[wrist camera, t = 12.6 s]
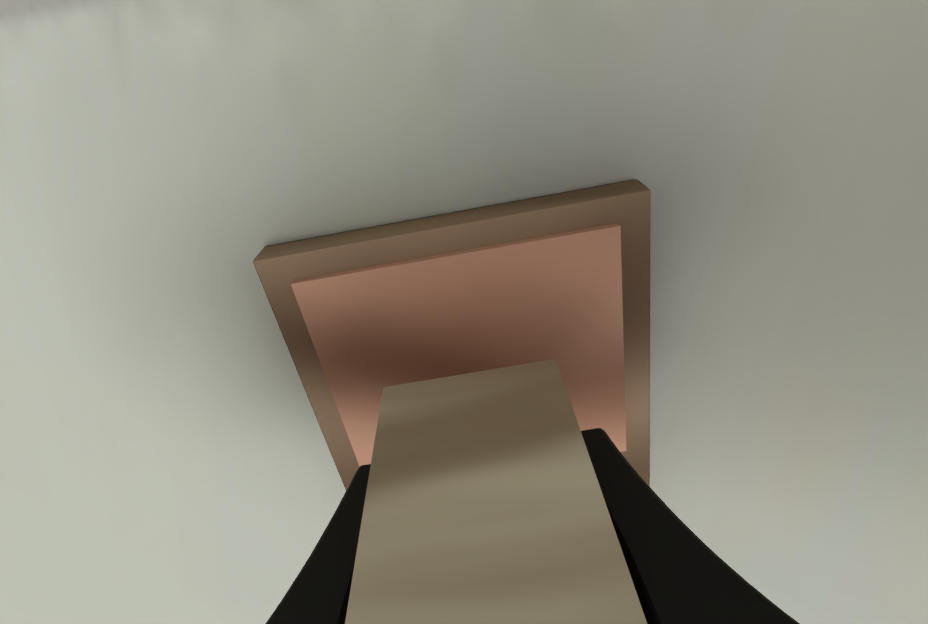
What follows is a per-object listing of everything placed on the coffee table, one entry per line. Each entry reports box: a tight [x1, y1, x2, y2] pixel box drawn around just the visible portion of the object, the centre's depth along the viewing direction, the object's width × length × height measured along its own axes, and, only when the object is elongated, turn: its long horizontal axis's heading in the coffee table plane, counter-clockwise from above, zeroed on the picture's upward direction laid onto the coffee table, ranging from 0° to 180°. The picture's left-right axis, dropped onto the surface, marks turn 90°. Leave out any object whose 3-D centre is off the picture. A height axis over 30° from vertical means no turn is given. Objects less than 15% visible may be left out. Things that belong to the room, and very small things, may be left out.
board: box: [253, 180, 650, 491], centre depth 17 cm, size 18×10×1 cm, turn 10°
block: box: [345, 359, 647, 624], centre depth 10 cm, size 4×4×6 cm
